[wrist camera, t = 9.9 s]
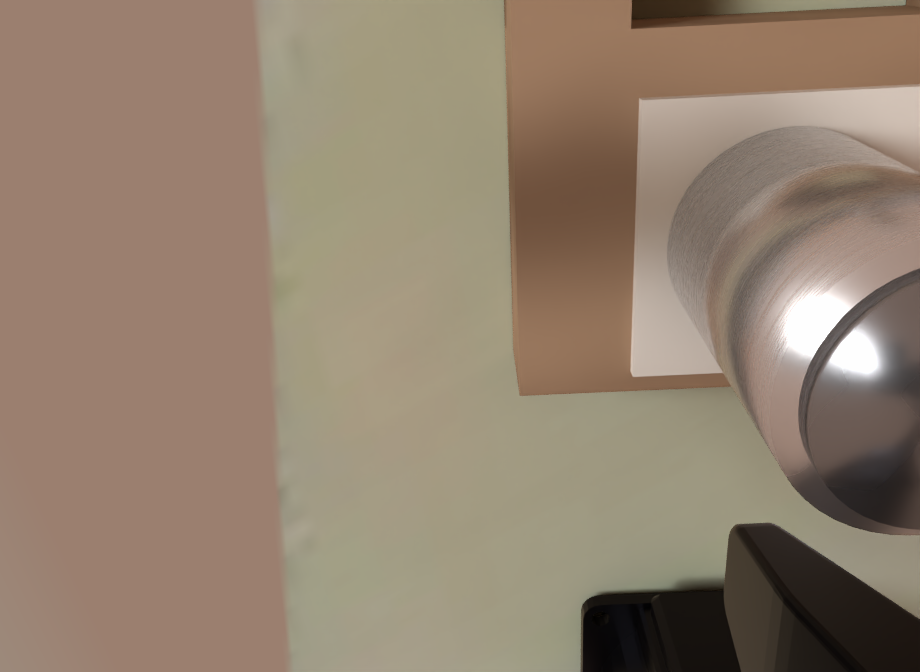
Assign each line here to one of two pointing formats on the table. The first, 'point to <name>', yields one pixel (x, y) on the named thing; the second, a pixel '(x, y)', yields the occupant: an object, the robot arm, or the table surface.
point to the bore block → (662, 161)
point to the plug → (814, 311)
